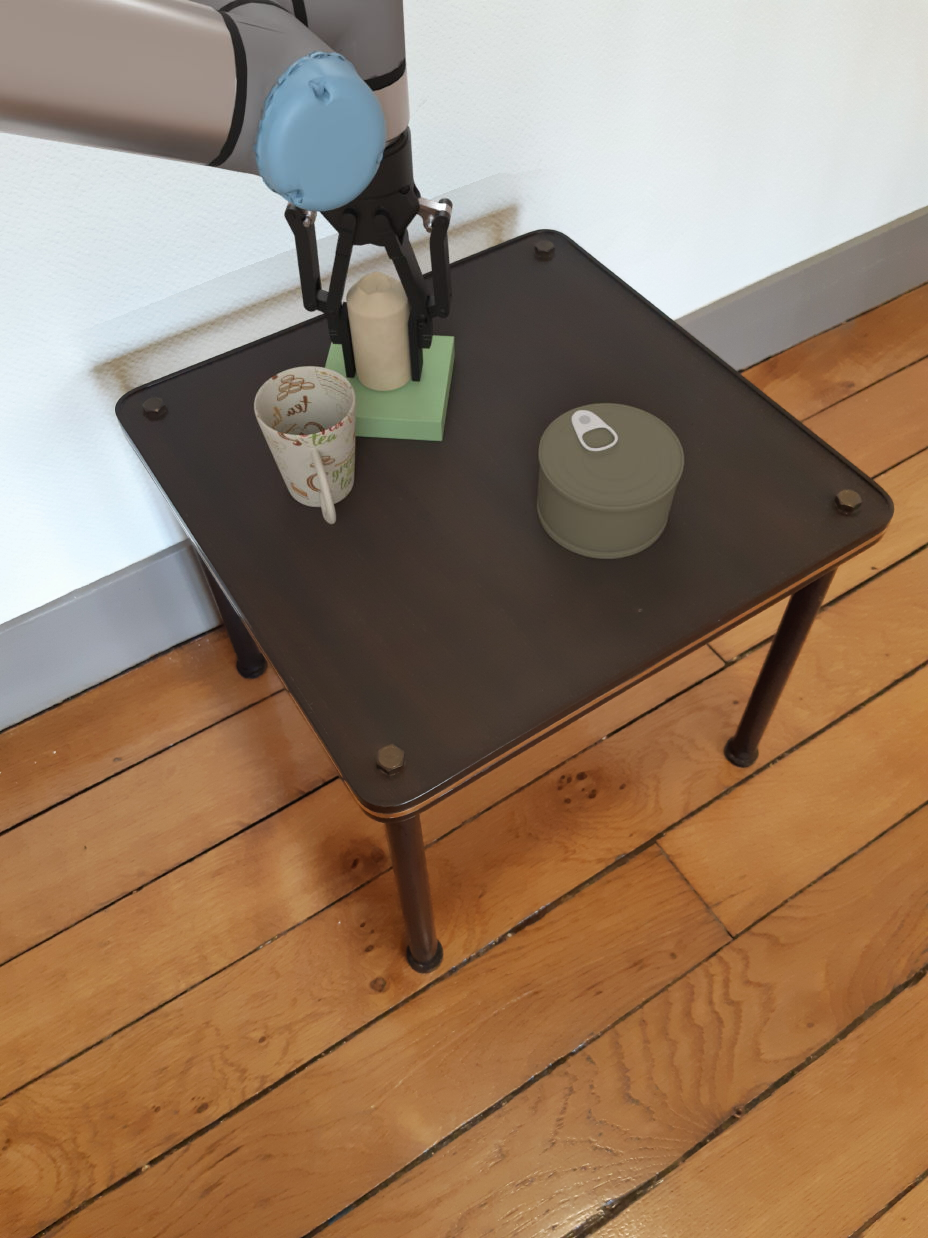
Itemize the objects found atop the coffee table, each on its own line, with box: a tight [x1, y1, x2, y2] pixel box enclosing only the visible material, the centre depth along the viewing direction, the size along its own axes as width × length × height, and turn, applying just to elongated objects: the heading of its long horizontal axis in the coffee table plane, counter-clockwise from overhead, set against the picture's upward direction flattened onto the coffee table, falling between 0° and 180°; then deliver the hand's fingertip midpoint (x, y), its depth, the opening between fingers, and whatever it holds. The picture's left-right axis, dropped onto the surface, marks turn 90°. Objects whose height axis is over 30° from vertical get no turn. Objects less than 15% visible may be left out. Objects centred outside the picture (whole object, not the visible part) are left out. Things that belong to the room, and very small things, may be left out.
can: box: [536, 402, 685, 560], centre depth 81 cm, size 12×12×7 cm
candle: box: [345, 271, 412, 391], centre depth 86 cm, size 6×6×10 cm
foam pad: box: [324, 334, 456, 442], centre depth 91 cm, size 12×12×2 cm
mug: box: [253, 365, 356, 525], centre depth 80 cm, size 8×13×10 cm, turn 18°
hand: (385, 369), depth 90 cm, fingers closed on candle, 5 cm apart
